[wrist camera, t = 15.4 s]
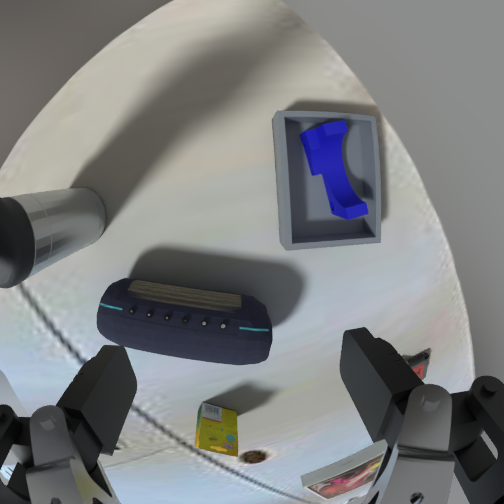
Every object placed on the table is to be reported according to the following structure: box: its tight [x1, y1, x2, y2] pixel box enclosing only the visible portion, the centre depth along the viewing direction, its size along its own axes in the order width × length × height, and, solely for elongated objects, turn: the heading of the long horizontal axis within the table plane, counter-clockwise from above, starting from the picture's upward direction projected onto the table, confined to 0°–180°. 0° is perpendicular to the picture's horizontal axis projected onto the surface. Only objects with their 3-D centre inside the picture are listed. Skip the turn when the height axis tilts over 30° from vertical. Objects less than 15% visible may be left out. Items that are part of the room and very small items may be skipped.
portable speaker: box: [97, 278, 272, 365], centre depth 36 cm, size 25×10×10 cm, turn 81°
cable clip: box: [300, 120, 369, 220], centre depth 33 cm, size 12×4×6 cm, turn 17°
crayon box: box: [195, 402, 238, 457], centre depth 41 cm, size 7×3×12 cm, turn 65°
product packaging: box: [301, 439, 388, 500], centre depth 57 cm, size 22×28×5 cm
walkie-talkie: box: [406, 353, 429, 380], centre depth 46 cm, size 9×4×20 cm
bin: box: [272, 111, 381, 250], centre depth 35 cm, size 14×18×5 cm
